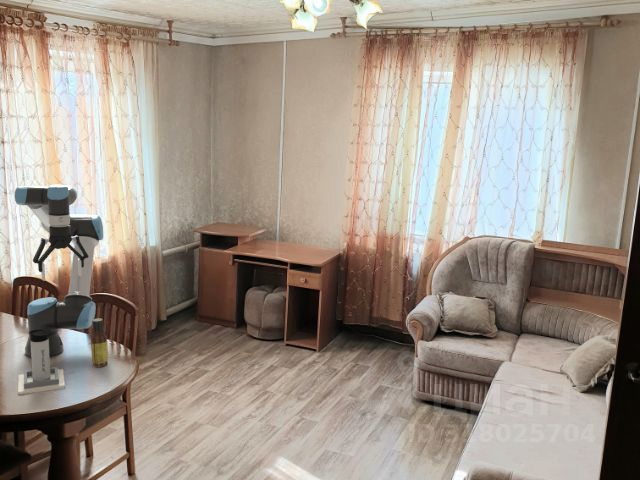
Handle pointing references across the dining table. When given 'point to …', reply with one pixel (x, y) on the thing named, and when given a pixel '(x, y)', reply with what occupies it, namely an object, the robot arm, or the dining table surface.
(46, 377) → the travel mug
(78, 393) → the dining table surface
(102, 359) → the sauce bottle
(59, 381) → the mug tray
